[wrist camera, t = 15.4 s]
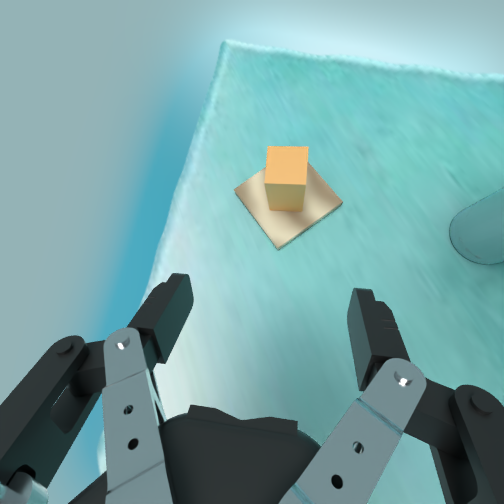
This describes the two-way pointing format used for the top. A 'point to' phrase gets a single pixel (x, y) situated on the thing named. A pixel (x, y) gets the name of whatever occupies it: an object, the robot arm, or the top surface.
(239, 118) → the top surface
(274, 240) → the post board
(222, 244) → the top surface
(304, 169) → the tall orange pillar
